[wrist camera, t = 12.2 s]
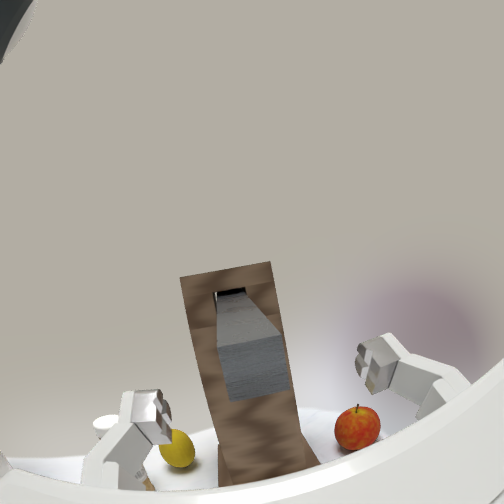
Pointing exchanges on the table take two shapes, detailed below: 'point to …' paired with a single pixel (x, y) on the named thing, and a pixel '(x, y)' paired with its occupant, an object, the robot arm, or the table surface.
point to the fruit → (357, 428)
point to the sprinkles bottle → (102, 428)
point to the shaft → (248, 348)
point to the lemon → (178, 450)
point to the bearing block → (250, 410)
